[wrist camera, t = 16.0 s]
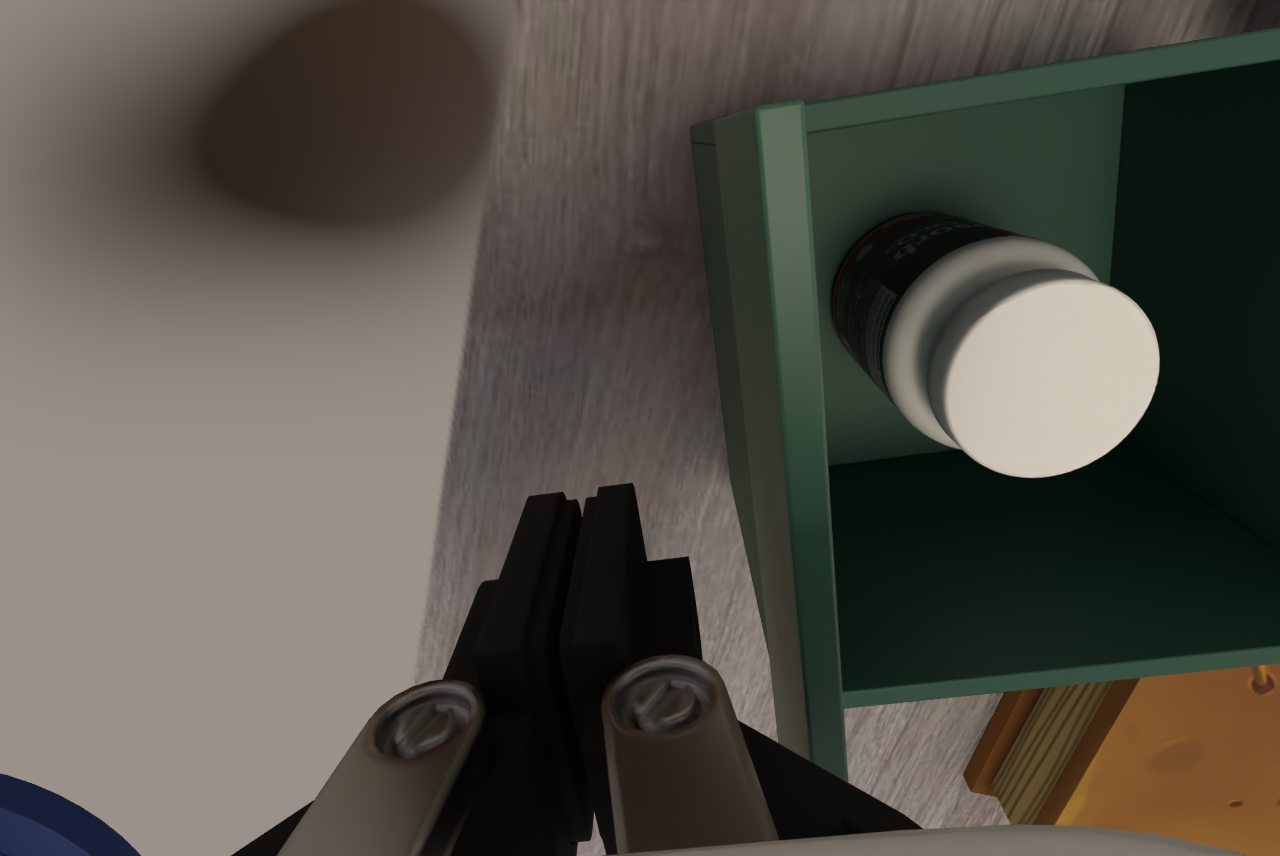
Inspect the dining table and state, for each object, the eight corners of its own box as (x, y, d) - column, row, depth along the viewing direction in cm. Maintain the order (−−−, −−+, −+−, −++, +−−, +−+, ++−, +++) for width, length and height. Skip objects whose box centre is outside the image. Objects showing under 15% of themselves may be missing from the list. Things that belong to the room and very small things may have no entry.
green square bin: (730, 484, 29) (782, 716, 17) (689, 126, 24) (721, 116, 13) (1103, 437, 28) (1422, 649, 16) (1134, 55, 23) (1607, -26, 12)
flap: (795, 735, 17) (777, 736, 17) (737, 116, 12) (713, 120, 12) (869, 1106, 10) (839, 1106, 10) (806, 96, 6) (753, 105, 6)
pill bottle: (1004, 203, 25) (1215, 243, 15) (989, 368, 27) (1167, 492, 17) (828, 217, 25) (931, 266, 16) (826, 380, 27) (917, 508, 18)
